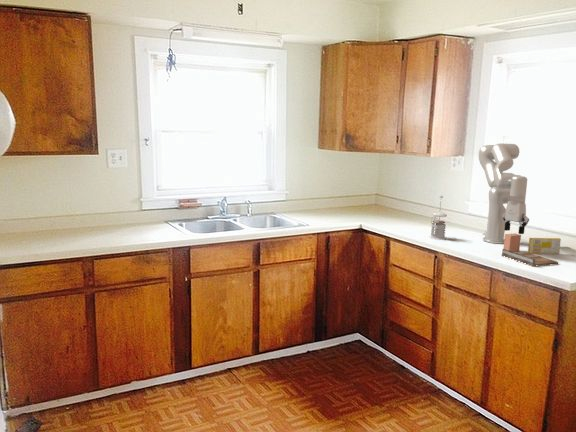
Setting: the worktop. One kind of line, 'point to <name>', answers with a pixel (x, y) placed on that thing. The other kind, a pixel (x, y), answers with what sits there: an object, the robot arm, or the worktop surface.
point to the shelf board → (538, 259)
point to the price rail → (518, 256)
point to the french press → (438, 226)
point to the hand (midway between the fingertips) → (513, 232)
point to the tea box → (512, 242)
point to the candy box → (544, 245)
